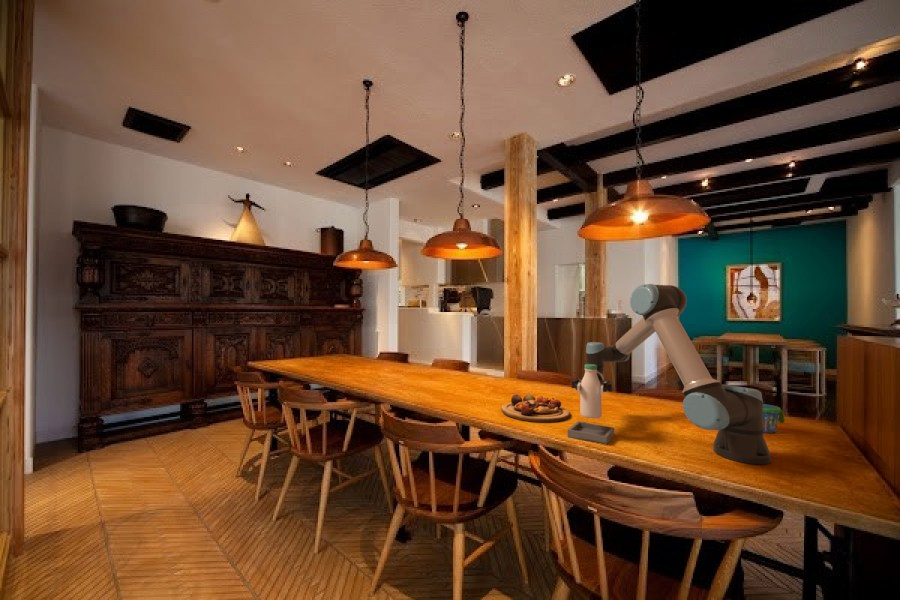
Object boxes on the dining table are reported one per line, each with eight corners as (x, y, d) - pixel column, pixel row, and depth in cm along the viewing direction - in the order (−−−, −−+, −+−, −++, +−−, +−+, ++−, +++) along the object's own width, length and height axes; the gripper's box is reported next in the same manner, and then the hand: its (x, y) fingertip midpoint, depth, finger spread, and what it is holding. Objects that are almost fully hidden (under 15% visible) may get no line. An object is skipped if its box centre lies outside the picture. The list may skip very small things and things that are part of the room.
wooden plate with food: (548, 428, 149) (548, 408, 149) (487, 412, 171) (487, 395, 171) (581, 415, 172) (581, 397, 172) (524, 402, 194) (524, 387, 194)
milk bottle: (604, 419, 136) (604, 366, 136) (584, 418, 136) (584, 365, 137) (596, 413, 143) (596, 363, 144) (577, 413, 144) (577, 363, 144)
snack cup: (774, 427, 152) (773, 403, 152) (795, 435, 142) (794, 409, 142) (734, 426, 154) (734, 402, 154) (752, 434, 143) (752, 408, 144)
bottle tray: (614, 434, 141) (614, 427, 141) (606, 445, 129) (606, 437, 130) (577, 427, 149) (577, 421, 149) (567, 437, 137) (567, 429, 138)
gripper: (619, 391, 152) (619, 403, 131) (569, 386, 160) (561, 397, 140) (619, 373, 152) (619, 382, 131) (569, 369, 161) (561, 377, 140)
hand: (589, 390), depth 136 cm, fingers closed on milk bottle, 8 cm apart
